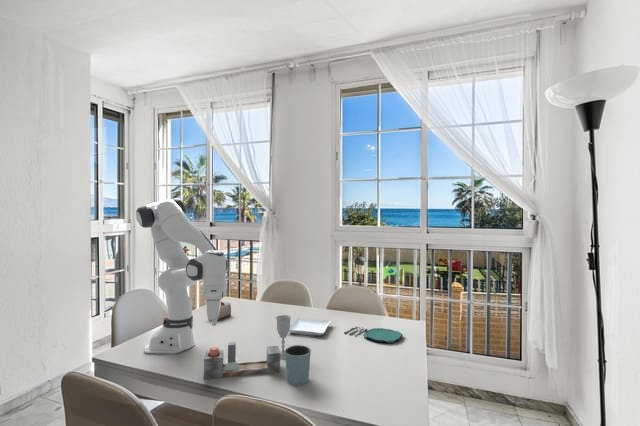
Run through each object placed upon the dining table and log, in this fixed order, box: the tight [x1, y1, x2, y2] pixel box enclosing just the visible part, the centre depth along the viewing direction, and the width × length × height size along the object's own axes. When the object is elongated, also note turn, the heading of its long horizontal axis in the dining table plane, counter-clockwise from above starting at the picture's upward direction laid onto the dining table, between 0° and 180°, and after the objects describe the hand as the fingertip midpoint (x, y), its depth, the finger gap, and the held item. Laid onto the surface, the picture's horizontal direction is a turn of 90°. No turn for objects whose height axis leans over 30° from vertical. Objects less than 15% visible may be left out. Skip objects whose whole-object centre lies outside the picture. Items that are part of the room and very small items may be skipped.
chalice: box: [275, 314, 292, 360], centre depth 157 cm, size 7×7×18 cm
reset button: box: [208, 346, 220, 357], centre depth 140 cm, size 4×4×4 cm
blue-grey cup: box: [284, 344, 312, 386], centre depth 136 cm, size 10×10×12 cm
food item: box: [217, 301, 232, 321], centre depth 214 cm, size 14×8×10 cm, turn 152°
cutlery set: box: [343, 326, 403, 344], centre depth 187 cm, size 20×30×2 cm, turn 56°
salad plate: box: [288, 317, 332, 337], centre depth 194 cm, size 21×21×3 cm
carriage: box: [224, 341, 239, 371], centre depth 142 cm, size 5×5×10 cm
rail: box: [203, 345, 281, 380], centre depth 143 cm, size 30×8×8 cm, turn 103°
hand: (214, 324), depth 140 cm, fingers closed
